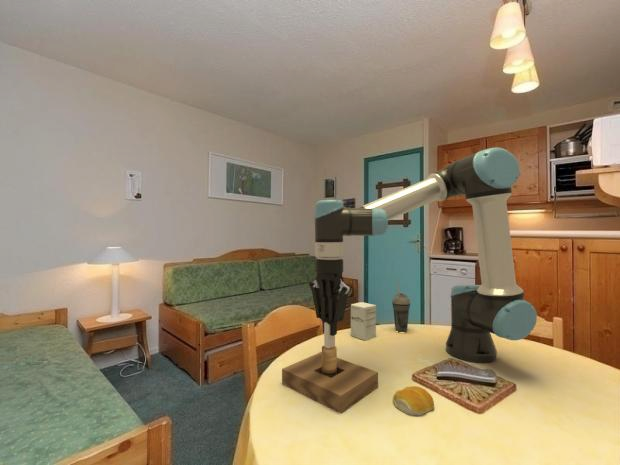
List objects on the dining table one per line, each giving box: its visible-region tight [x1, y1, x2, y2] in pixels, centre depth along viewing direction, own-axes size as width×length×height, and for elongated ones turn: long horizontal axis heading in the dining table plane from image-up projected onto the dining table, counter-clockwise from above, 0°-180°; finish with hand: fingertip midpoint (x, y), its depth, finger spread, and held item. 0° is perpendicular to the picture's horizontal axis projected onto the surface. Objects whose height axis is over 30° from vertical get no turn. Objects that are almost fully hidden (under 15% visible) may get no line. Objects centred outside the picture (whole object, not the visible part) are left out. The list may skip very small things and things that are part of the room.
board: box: [281, 351, 379, 414], centre depth 81 cm, size 20×16×4 cm
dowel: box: [321, 345, 338, 378], centre depth 81 cm, size 4×4×10 cm
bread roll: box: [392, 385, 435, 416], centre depth 72 cm, size 8×9×4 cm
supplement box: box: [350, 301, 377, 341], centre depth 120 cm, size 7×7×13 cm
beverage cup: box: [391, 282, 411, 333], centre depth 126 cm, size 7×7×20 cm
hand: (329, 346), depth 81 cm, fingers closed
